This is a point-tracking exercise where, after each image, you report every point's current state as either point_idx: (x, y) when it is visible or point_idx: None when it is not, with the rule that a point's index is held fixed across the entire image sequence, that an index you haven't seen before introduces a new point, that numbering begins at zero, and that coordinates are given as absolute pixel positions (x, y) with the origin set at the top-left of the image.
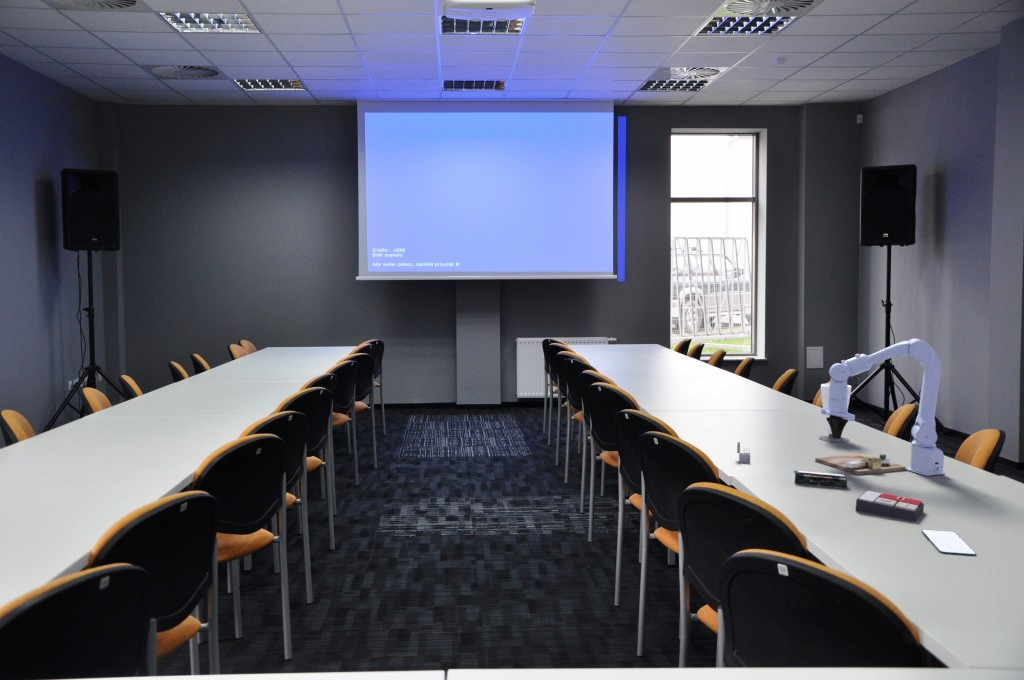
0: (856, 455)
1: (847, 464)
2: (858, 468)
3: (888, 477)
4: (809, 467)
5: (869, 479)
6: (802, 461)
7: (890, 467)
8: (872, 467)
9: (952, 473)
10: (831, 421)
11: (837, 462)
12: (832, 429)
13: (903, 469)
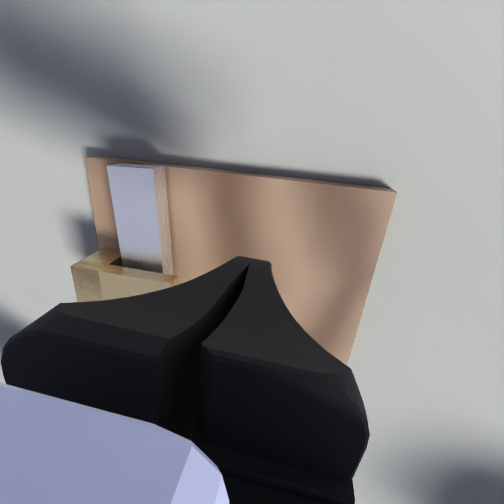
0: None
1: (141, 167)
2: None
3: (50, 239)
4: (305, 25)
5: (28, 140)
6: (438, 112)
7: None
8: (100, 250)
9: None
10: (214, 340)
11: (258, 216)
12: (247, 288)
13: None
